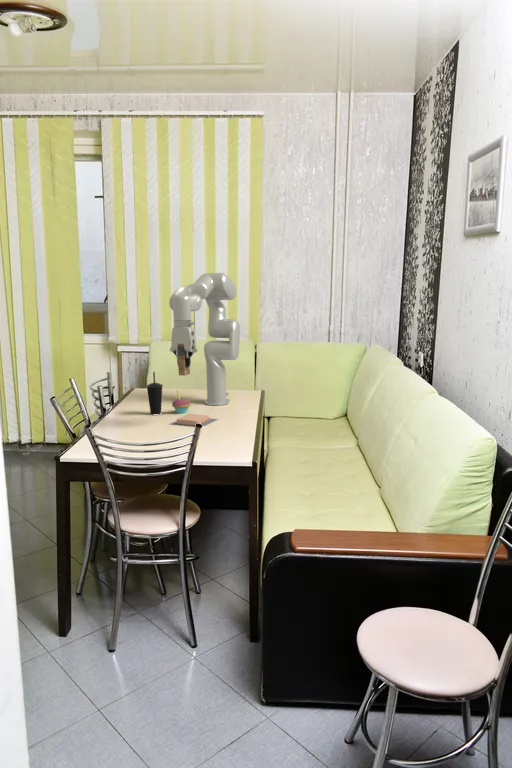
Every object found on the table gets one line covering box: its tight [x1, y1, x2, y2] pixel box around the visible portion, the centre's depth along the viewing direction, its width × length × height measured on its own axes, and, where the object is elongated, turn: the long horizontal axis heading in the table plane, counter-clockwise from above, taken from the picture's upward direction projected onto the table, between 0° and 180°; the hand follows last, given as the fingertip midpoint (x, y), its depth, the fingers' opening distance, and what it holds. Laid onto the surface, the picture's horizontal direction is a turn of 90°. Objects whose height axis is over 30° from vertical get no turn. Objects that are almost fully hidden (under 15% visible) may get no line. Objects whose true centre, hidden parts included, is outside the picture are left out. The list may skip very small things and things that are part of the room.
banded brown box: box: [177, 343, 191, 377], centre depth 270 cm, size 5×3×14 cm
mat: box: [168, 417, 219, 428], centre depth 274 cm, size 16×16×1 cm
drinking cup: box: [145, 371, 164, 415], centre depth 291 cm, size 8×8×20 cm
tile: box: [176, 413, 210, 426], centre depth 273 cm, size 2×10×11 cm
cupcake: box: [171, 389, 191, 414], centre depth 291 cm, size 9×8×12 cm
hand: (184, 366), depth 270 cm, fingers closed on banded brown box, 3 cm apart
